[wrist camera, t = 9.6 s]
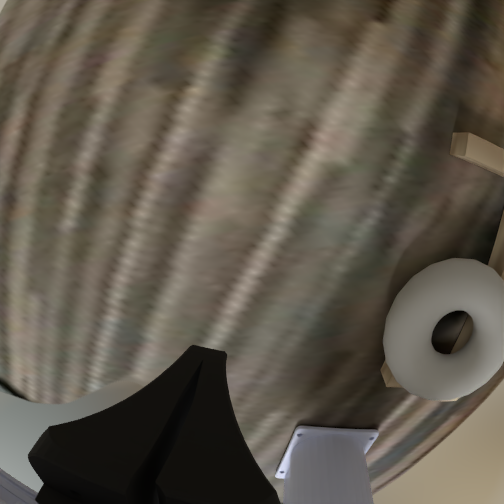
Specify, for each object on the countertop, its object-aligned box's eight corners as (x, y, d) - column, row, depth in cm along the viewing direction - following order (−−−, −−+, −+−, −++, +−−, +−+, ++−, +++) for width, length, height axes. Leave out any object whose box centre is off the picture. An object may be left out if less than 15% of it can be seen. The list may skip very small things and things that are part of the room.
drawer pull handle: (448, 386, 22) (456, 400, 20) (373, 384, 22) (378, 400, 20) (531, 150, 15) (547, 153, 13) (455, 111, 15) (471, 109, 13)
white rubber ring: (476, 225, 14) (541, 341, 13) (459, 223, 18) (521, 325, 16) (352, 338, 17) (432, 433, 16) (353, 319, 21) (425, 407, 19)
